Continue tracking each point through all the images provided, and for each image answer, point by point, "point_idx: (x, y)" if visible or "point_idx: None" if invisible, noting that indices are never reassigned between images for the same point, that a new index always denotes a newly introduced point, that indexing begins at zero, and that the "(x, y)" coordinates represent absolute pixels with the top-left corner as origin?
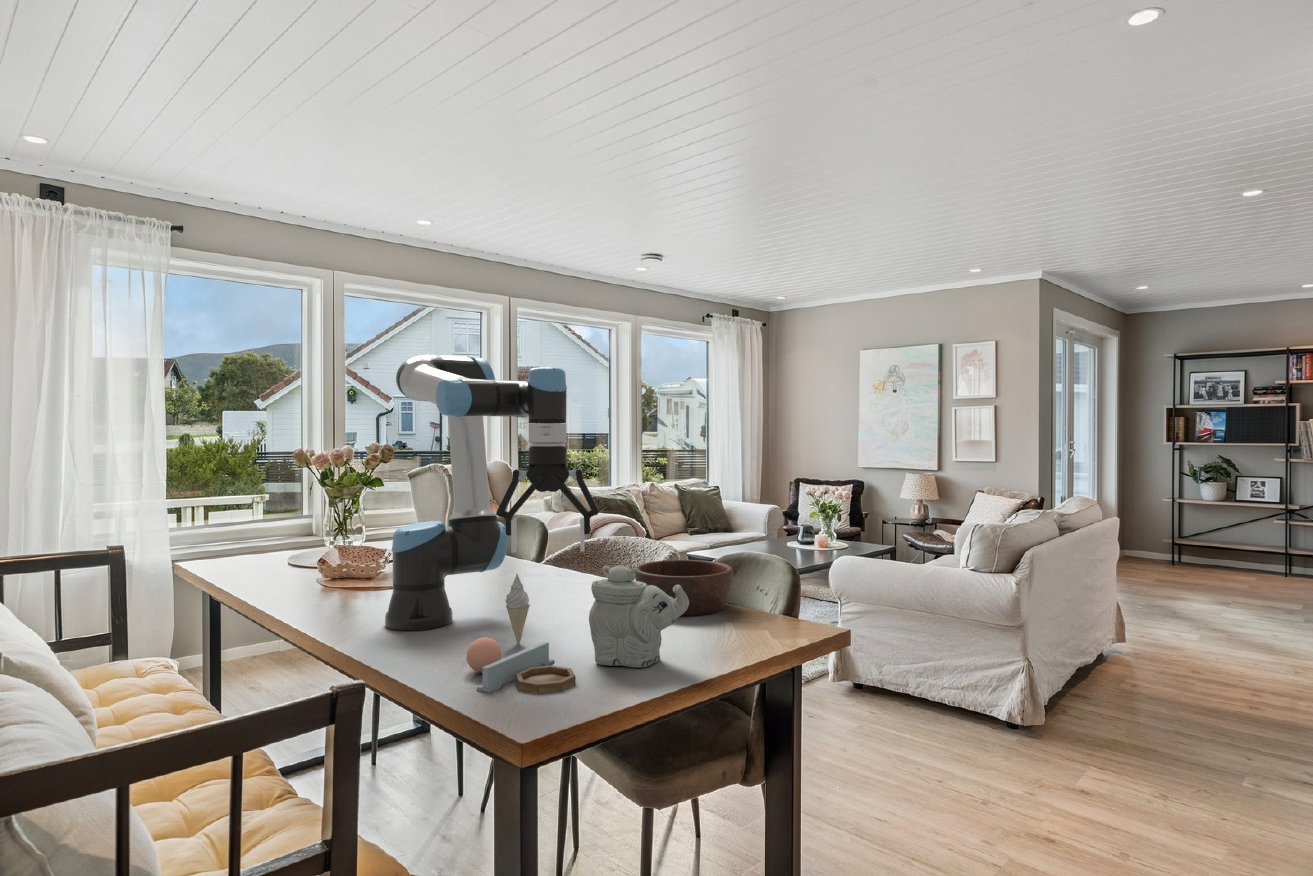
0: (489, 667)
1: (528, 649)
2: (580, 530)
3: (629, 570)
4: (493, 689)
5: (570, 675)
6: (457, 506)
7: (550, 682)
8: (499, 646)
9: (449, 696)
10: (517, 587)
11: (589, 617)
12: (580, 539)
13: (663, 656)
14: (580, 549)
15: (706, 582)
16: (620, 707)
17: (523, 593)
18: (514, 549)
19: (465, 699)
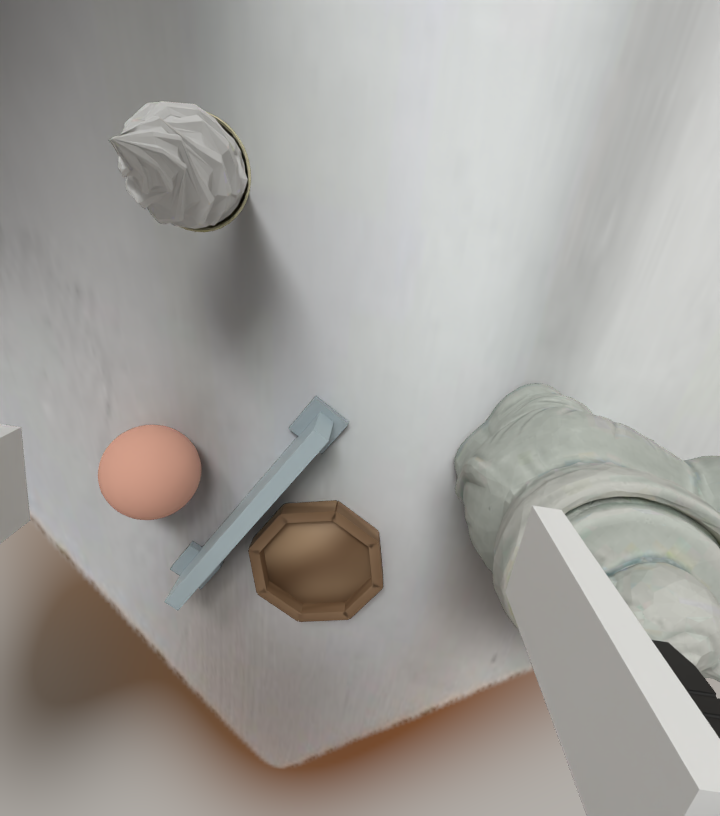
0: (181, 606)
1: (268, 494)
2: (566, 750)
3: (710, 674)
4: (207, 581)
5: (371, 586)
6: None
7: (324, 615)
8: (184, 485)
9: (123, 581)
10: (155, 184)
11: (466, 475)
12: (534, 667)
13: (654, 433)
14: (510, 603)
15: None
16: (445, 697)
17: (200, 190)
18: (6, 533)
19: (159, 603)
